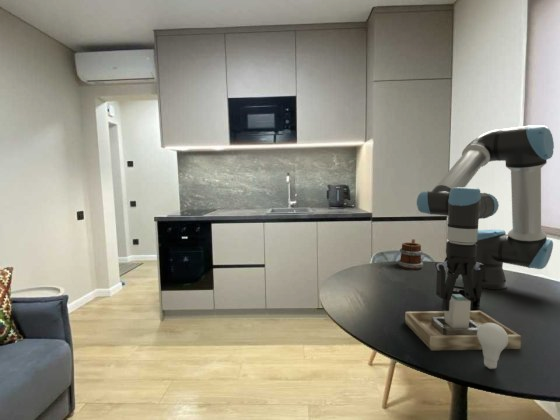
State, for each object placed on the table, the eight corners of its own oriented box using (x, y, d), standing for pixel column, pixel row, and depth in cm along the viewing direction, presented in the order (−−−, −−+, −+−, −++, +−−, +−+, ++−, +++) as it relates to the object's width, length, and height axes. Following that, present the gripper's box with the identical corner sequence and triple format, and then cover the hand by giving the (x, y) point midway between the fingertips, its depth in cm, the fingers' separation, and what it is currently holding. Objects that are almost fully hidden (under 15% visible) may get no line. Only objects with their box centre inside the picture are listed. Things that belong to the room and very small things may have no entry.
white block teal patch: (459, 321, 93) (461, 292, 93) (468, 328, 89) (470, 298, 88) (444, 321, 93) (446, 292, 92) (453, 328, 89) (455, 298, 88)
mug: (395, 268, 156) (397, 238, 157) (399, 266, 169) (401, 238, 169) (421, 271, 151) (423, 240, 151) (423, 269, 163) (425, 240, 164)
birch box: (479, 321, 99) (480, 310, 98) (520, 348, 83) (521, 336, 83) (405, 322, 98) (405, 311, 98) (431, 350, 82) (432, 337, 82)
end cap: (479, 305, 111) (480, 287, 111) (479, 313, 105) (481, 293, 105) (447, 300, 116) (448, 282, 116) (446, 306, 110) (447, 288, 110)
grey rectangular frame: (466, 322, 96) (466, 316, 96) (484, 336, 87) (485, 329, 87) (429, 323, 95) (429, 316, 95) (444, 337, 87) (445, 330, 87)
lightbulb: (469, 361, 77) (471, 318, 76) (492, 360, 78) (495, 317, 77) (487, 376, 71) (490, 330, 70) (512, 375, 72) (516, 329, 71)
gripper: (482, 239, 93) (477, 314, 95) (424, 239, 92) (420, 315, 95) (501, 244, 85) (495, 326, 88) (438, 244, 85) (433, 327, 87)
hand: (456, 320), depth 91 cm, fingers closed on white block teal patch, 4 cm apart
